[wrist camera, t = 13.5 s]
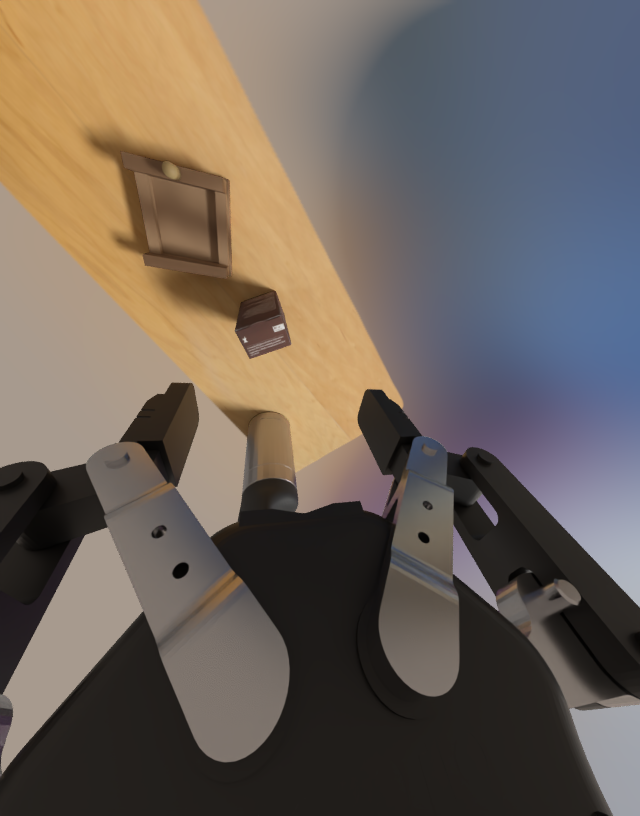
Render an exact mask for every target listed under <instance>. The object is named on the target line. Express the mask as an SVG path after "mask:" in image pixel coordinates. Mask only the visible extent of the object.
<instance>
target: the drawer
mask: <svg viewBox="0 0 640 816" xmlns="http://www.w3.org/2000/svg"><path fill="white" fill-rule="evenodd" d="M121 156H122V160H123V165H124V168H126V169H129V170H131V171H134V174H135V179H136V184H137V189H138V195H139V200H140V205H141V210H142V215H143V220H144V225H145V230H146V235H147V240H148V245H149V250H150V252H149V253H145V254H143V259H144V263H145V266H151V267H157V268H163V269H169V270H175V271H182V272H188V273H194V274H200V275H206V276H212V277H218V278H224V279H227V278H228V276H232V252H231V217H230V183H229V180H228V179H225V178H222V177H219V176H215V175H211V174H207V173H203V172H199V171H196V170H192V169H188V168H184V167H180V166H176V165H174V164H172V163H171V162H169V161H164V162H161V161H157V160H153V159H150V158H146V157H142V156H138V155H134V154H130V153H126V152H123V151H121Z"/></svg>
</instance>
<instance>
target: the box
mask: <svg viewBox="0 0 640 816" xmlns="http://www.w3.org/2000/svg"><path fill="white" fill-rule="evenodd" d="M235 332H236V334H237V336H238V338H239V340H240V342H241V343H242V345H243V347H244V349H245V351H246V353H247V355H248V357H249V358H250V359H251V358H254V357H257V356H260V355H263V354H266V353H269V352H272V351H275V350H278V349H281V348H283V347H286V346H289V345H291V341H290V336H289V332H288V328H287V324H286V320H285V316H284V313H283V310H282V307H281V304H280V302H279V299H278V296H277V293H276V291H273V292H269V293H266V294H264V295H260V296H258V297H255V298H252V299H249V300H246V301H244V302H241V306H240V310H239V315H238V319H237V323H236V328H235Z"/></svg>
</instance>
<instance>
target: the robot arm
mask: <svg viewBox="0 0 640 816" xmlns="http://www.w3.org/2000/svg"><path fill="white" fill-rule="evenodd" d="M198 422H199V413H198V407H197V401H196V396H195V390H194V386H193V384H192V383H171V385H170V386H169V388H168V389H167V391H166V393H165V394H157V395H155V396H154V397H152V398H151V399H149V400H148V401H147V402H146V403H145V405H144V406H143V408H142V409H141V411H140V412H139V413H138V415H137V418H135V419H134V421H133V422H132V424H131V425H130V427H129V428H128V430H127V431H126V433H125V434H124V435H123V437H122V438H121V440H120V441H119V443H115V444H112V445H109V446H106V447H104V448H102V449H100V450H99V451H97V452H96V453H94V454H93V455H92V456H91V457H90V458H89V460H88V461H87V463H86V464H82V465H78V466H74V467H69V468H65V469H61V470H56V471H52V472H50V471H49V469H48V468H47V467H46V466H45V465H44V464H43V463H40V462H35V461H27V462H19V463H15V464H11V465H7V466H5V467H2V468H0V816H613V815H612V813H611V810H610V808H609V806H608V804H607V802H606V800H605V798H604V796H603V794H602V792H601V790H600V787H599V785H598V783H597V781H596V779H595V776H594V774H593V772H592V769H591V767H590V765H589V762H588V760H587V758H586V755H585V752H584V750H583V747H582V745H581V742H580V740H579V737H578V734H577V731H576V728H575V725H574V722H573V719H572V716H571V713H570V710H569V709H570V708H575V709H578V710H593V709H602V708H611V707H621V706H630V705H639V704H640V608H639V607H638V605H637V604H636V603H635V602H634V601H633V600H632V599H631V598H630V597H629V596H628V595H627V594H626V593H625V592H624V591H623V590H622V589H621V588H620V587H619V586H618V585H617V584H616V582H615V581H614V580H613V579H612V578H611V577H610V576H609V575H608V574H607V573H606V572H605V571H604V570H603V569H602V568H601V567H600V566H599V565H598V563H597V562H596V561H595V560H594V559H593V558H592V557H591V556H590V555H589V554H588V553H587V552H586V551H585V550H584V549H583V548H582V547H581V546H580V545H579V544H578V543H577V541H576V540H575V539H574V538H573V537H572V536H571V535H570V534H569V533H568V532H567V531H566V530H565V529H564V528H563V527H562V526H561V525H560V524H559V523H558V522H557V520H556V519H554V517H553V516H552V515H551V514H550V513H549V512H548V511H547V510H546V509H545V508H544V507H543V506H542V505H541V504H540V503H539V502H538V501H537V500H536V498H535V497H534V496H533V495H532V494H531V493H530V492H529V491H528V490H527V489H526V488H525V487H524V486H523V485H522V484H521V483H520V482H519V481H518V480H517V478H516V477H515V476H514V475H513V474H512V473H511V472H510V471H509V470H508V469H507V468H506V467H505V466H504V465H503V464H502V463H501V462H500V461H499V460H498V459H497V458H496V457H495V456H494V455H492V454H490V453H489V452H487V451H485V450H483V449H480V448H474V447H471V448H469V449H467V450H466V452H465V453H464V454H463V455H459V454H454V453H449V452H447V451H446V449H445V448H444V446H443V445H442V444H440V443H439V442H438V441H436V440H434V439H432V438H429V437H424V436H422V435H421V434H420V433H419V431H418V430H417V428H416V427H415V426H414V424H413V423H412V422H411V421H410V419H408V417H407V415H406V414H405V413H404V411H403V410H402V409H401V408H400V406H399V405H398V404H396V403H395V402H394V401H392V400H391V399H389V398H388V397H387V396H386V394H385V393H384V392H383V390H373V389H367V390H366V391H365V393H364V396H363V400H362V403H361V406H360V410H359V413H358V424H359V427H360V429H361V431H362V433H363V435H364V437H365V439H366V441H367V443H368V445H369V447H370V450H371V452H372V453H373V456H374V458H375V460H376V462H377V464H378V466H379V468H380V470H381V472H382V474H383V475H391V474H393V476H394V479H393V481H392V485H391V487H390V491H389V494H388V498H387V501H386V504H385V507H384V511H383V514H382V516H379V515H377V514H374V513H372V512H368V511H364V510H363V508H362V505H361V503H360V501H355V502H344V503H333V504H330V505H328V506H325V507H322V508H319V509H317V510H314V511H311V512H308V513H296V512H295V511H296V509H297V506H298V494H297V485H296V476H295V468H294V459H293V450H292V441H291V431H290V424H289V421H288V420H287V419H286V418H285V417H284V416H283V415H281V414H278V413H275V412H265V413H261V414H258V415H257V416H255V417H254V418H253V419H252V420H251V421H250V423H249V426H248V437H247V447H246V458H245V469H244V480H243V492H242V502H241V507H240V512H239V517H238V522H236V523H234V524H231V525H229V526H227V527H225V528H223V529H222V530H220V531H219V532H217V533H215V534H214V535H213V536H211V537H209V536H208V534H207V533H206V532H205V530H204V528H203V527H202V526H201V524H200V523H199V521H198V520H197V518H196V517H195V515H194V514H193V513H192V511H191V510H190V508H189V507H188V506H187V504H186V503H185V501H184V500H183V498H182V497H181V495H180V494H179V492H178V491H177V489H176V488H175V487H177V486H178V483H179V480H180V477H181V474H182V471H183V468H184V465H185V462H186V459H187V456H188V453H189V450H190V447H191V444H192V442H193V439H194V435H195V433H196V430H197V427H198ZM482 494H483V495H484V496H485V497H486V499H487V500H488V501H489V503H490V504H491V505H492V506H493V508H494V509H495V511H496V512H497V515H498V523H497V525H496V526H494V524H493V523H492V522H491V520H490V519H489V518H488V516H487V515H486V513H485V512H484V511H483V509H482V508H481V506H480V505H479V504H478V502H477V499H478V498H479V497H480V496H481V495H482ZM453 524H454V526H455V528H456V530H457V531H458V533H459V535H460V536H461V538H462V540H463V541H464V543H465V545H466V546H467V548H468V550H469V552H470V553H471V555H472V557H473V558H474V560H475V562H476V564H477V565H478V567H479V569H480V570H481V572H482V574H483V576H484V577H485V579H486V581H487V582H488V584H489V586H490V588H491V589H492V591H493V593H494V594H495V596H496V602H497V606H498V609H499V611H497V610H496V609H495V608H493V607H492V606H491V605H490V604H489V603H487V602H486V601H485V600H484V599H483V598H481V597H480V596H479V595H478V594H477V593H475V592H474V591H473V590H472V589H470V588H469V587H468V586H467V585H466V584H465V583H463V582H462V581H461V580H459V578H457V577H456V576H455V575H454V574H453ZM107 527H108V529H109V531H110V533H111V535H112V538H113V540H114V543H115V545H116V548H117V550H118V552H119V555H120V557H121V559H122V562H123V564H124V566H125V569H126V571H127V573H128V576H129V578H130V580H131V583H132V585H133V588H134V590H135V592H136V594H137V597H138V599H139V602H140V604H141V606H142V609H143V612H142V613H141V614H140V615H139V617H138V618H137V619H136V620H135V621H134V622H133V623H132V624H131V626H130V627H129V628H128V629H127V630H126V631H125V633H124V634H123V635H122V636H121V637H120V638H119V639H118V640H117V642H116V643H115V644H114V645H113V646H112V647H111V649H109V651H108V652H107V653H106V654H105V655H104V656H103V658H102V659H101V660H100V661H99V662H98V663H97V664H96V665H95V667H94V668H93V669H92V670H91V671H90V672H89V673H88V675H87V676H86V677H85V678H84V679H83V680H82V681H81V683H80V684H79V685H78V686H77V687H76V688H75V689H74V690H73V692H72V693H71V694H70V695H69V696H68V697H67V698H66V700H65V701H64V702H63V703H62V704H61V705H60V706H59V707H58V709H57V710H56V711H55V712H54V713H53V714H52V715H51V717H50V718H49V719H48V720H47V721H46V722H45V723H44V725H43V726H42V727H41V728H40V729H39V730H38V731H37V732H36V734H35V735H34V736H33V737H32V738H31V739H30V740H29V742H28V743H27V744H26V745H25V746H24V747H23V748H22V750H21V751H20V752H19V753H18V754H17V756H16V757H15V758H14V759H13V761H12V762H11V763H10V765H9V766H8V767H7V769H6V770H5V771H4V773H3V774H2V771H1V755H2V750H3V747H4V744H5V741H6V737H7V734H8V732H9V729H10V726H11V722H12V717H13V708H12V703H11V701H10V700H9V699H8V698H7V697H6V696H4V695H2V694H3V692H4V690H5V688H6V686H7V684H8V683H9V681H10V679H11V677H12V675H13V673H14V671H15V669H16V667H17V665H18V663H19V661H20V659H21V658H22V656H23V653H24V652H25V650H26V648H27V646H28V644H29V642H30V640H31V638H32V636H33V634H34V632H35V630H36V628H37V626H38V625H39V623H40V621H41V619H42V617H43V615H44V613H45V611H46V609H47V607H48V605H49V603H50V601H51V600H52V598H53V596H54V594H55V592H56V590H57V588H58V586H59V584H60V582H61V580H62V578H63V576H64V575H65V572H66V570H67V568H68V567H69V565H70V563H71V561H72V559H73V557H74V555H75V553H76V551H77V549H78V547H79V546H80V544H81V542H82V539H83V538H84V536H85V535H86V534H89V533H92V532H95V531H98V530H101V529H104V528H107Z"/></svg>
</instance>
